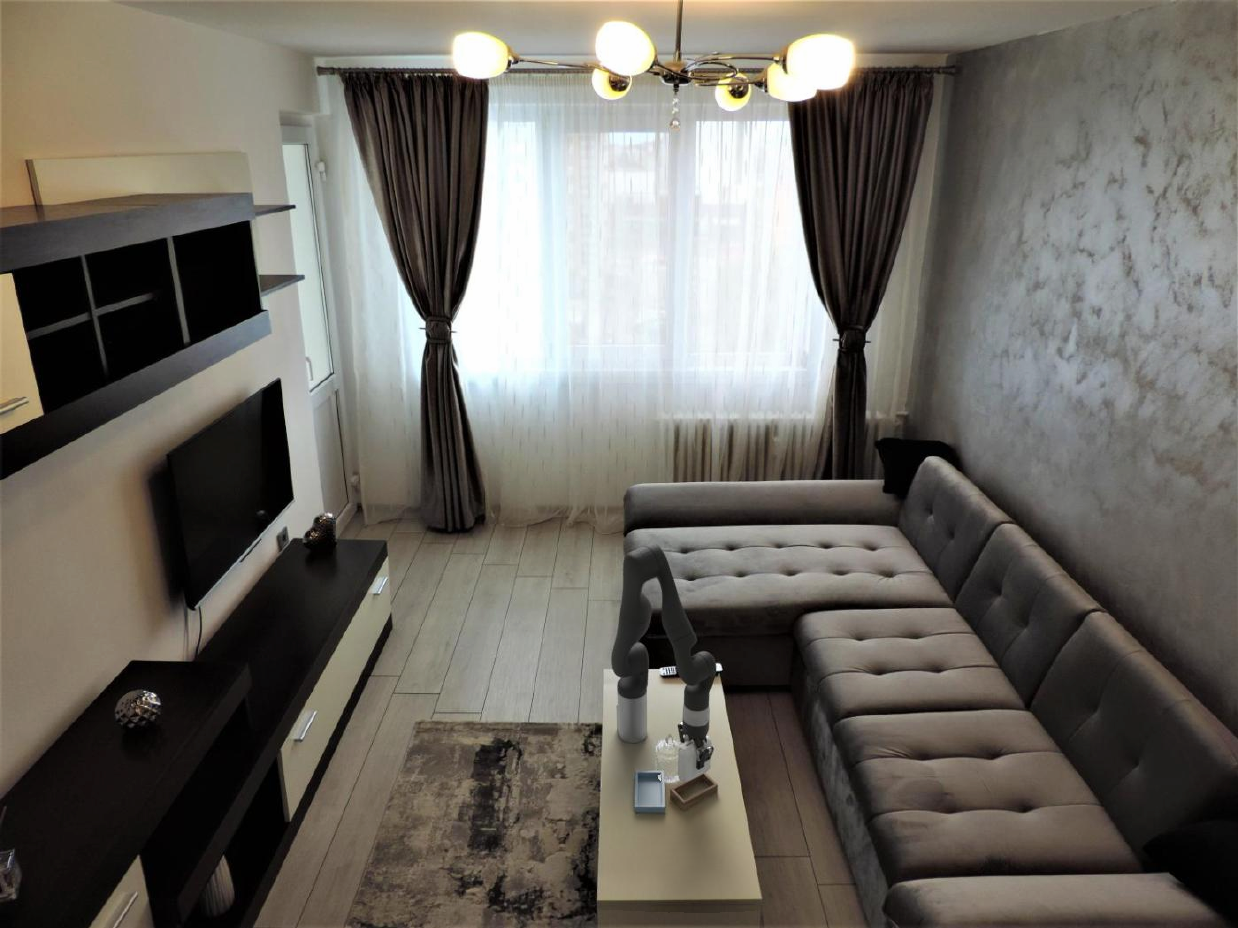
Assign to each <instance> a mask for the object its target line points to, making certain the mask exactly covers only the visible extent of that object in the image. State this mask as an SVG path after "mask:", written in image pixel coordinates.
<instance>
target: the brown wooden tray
mask: <svg viewBox="0 0 1238 928" xmlns="http://www.w3.org/2000/svg"><path fill="white" fill-rule="evenodd" d="M702 782H703V783H704V784H705V785H706V786H707V788H706V789H703V790H702V791H700V792H698V793H696V794H694V795H692V796H690V797H688V798H687V799H685V800H684V798H683V797H682V796H681V795H680V794H682V793H684V792H686V791H688V790H690V789H692V788H694V787H696V786H697V785H699V784H701V783H702ZM718 788H719V785H718V783H716V781H715V780H713V779H712V777H710V776H709V774H707V772H706V773H704V774H702V775H700V776H698V777H696V778H694V779H692V780H690V781H688V782H683V781H681V782H680V783H678V784H677V785H675V786H673V787H671V788H670V789H669V797H670V798H671V799H672V800H673V802H675V804H676V805H677V806H678V807H680V809H681V810H682V811H683V812H685V811H686V810H689V809H690V808H692V807H694V806H696V805H698V804H700V803H701V802H704V801H705V800H707V799H708V798H711V797H712V796H714V795H716V794H718V791H719V789H718Z"/></svg>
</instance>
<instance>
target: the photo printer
mask: <svg viewBox="0 0 1238 928" xmlns="http://www.w3.org/2000/svg"><path fill="white" fill-rule="evenodd" d="M706 738H707V744H708V745H709V747H711V746H713V745H712V739H711V738H710V736H708V734H707V735H706ZM702 747H703V746H702ZM702 747H701V748H702ZM701 748H698V750H699V749H701ZM677 755H678V756H677V760H678V762H677V775H678V779H679V780H680V781H681V782H688V781H690V780H692V779H694V778H696V777H698V776H700V775H702V774H704V773H706V774H707V772H709V771H710V770H711V767H712V766H711V765H712V763H711V762H712V761H711V759H712V757H711V758H710V760H708V761H706V762H704V767H703V768H701V769H699V770H698V769H697V768H696V759H697V757H696V753H695V750H694V747H693V744H692V741H691V740H689V741H687V742H685V743H682V744H681V745H680V747H679V748H678V753H677ZM700 755H702V752H701V753H700Z"/></svg>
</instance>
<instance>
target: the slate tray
mask: <svg viewBox="0 0 1238 928" xmlns="http://www.w3.org/2000/svg"><path fill="white" fill-rule="evenodd" d="M660 774H661V781H660V780H659V779H658V775H660ZM665 791H666V790H665V771H664V770H635V771H634V814H664V815H665V814H666V793H665Z"/></svg>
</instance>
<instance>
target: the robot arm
mask: <svg viewBox="0 0 1238 928" xmlns="http://www.w3.org/2000/svg"><path fill="white" fill-rule="evenodd" d="M653 579H657V580H658V583H659V586H660V590H661V623H662V627H663V629H664V632H665V634H666V635H667V638H668V641H669V642H670V644H671V646H672V648H673V650H672V651H673V654H674V659H675V664H676V669H677V673H678V675H679V678H680V679H681V681H682V682H683V683H684V684H686V685H685V686H684V689H683V692H684V693H683V704H682V705H683V706H682V718H681V720H682V722H680V723H678V724H677V729H678V730H677V731H678V736H679V741H680V743H681V744H684V743H685V742H687V741H689V740H691V741H692V744H693V747H694V750H695V753H696V757H697V759H696V768H697V769H698V770H699V769H701V768H703V767H704V762H706V761H708V760H710V758H711V759H712V755H713V753H714V750H715V748H714V747H713V745H712V746H711V747H709V745H708V744H707V738H706V735H707V736H708V733H709V731H710V717H711V716H710V714H711V713H710V712H711V709H710V694H711V693H710V692H711V689H712V688H713V684H714V681H715V679H716V675H717V662H716V660H715V657H714V656H713V654H711V653H710V652H708V651H706V650H705V651H704V650H703V651H699V652H697V653H696V654H695V653H694V655H692V654H691V650H692V648H693V647H694V646H695V645H696V643H697V642H698V639H697V635H696V633H695V631H694V628H693V626H692V624H691V622H690V620H689V618H688V616H687V614H686V612H685V609H684V606H683V604H682V602H681V598H680V596H679V595H680V594H679V592H678V589H677V586H676V582H675V579H674V577H673V573H672V569H671V567H670V564H669V561H668V558H667V556H666V555H665V552H664V550H663V549H662V548H661V547H660V546H659V544H656V543H655V542H651V543H648V544H645V545H643V546H640V547H638V548H636V549H633V550H632V551H630V552H628V553H627V554H626V555H625V556H624V560H623V564H622V593H621V602H620V608H619V615H618V623H617V625H618V626H617V632H616V636H615V640H614V643H613V648H612V651H611V656H610V657H611V658H610V659H611V667H612V669H611V670H612V671H613V673H614V674H615V676H616V677H618V678H619V679H618V681H617V684H616V685H617V686H616V689H617V690H616V691H617V693H616V694H617V705H616V729H617V733H618V737H619V739H621V740H622V741H624V742H626V743H628V744H637V743H640V742H642V741H644V740H645V739H646V738H647V736H648V686H649V670H650V659H649V657H650V656H649V652H648V650H647V649H648V648H647V647H646V646H645V644H643V643H641V642H640V641H639V640H640V639H641V638H642V637H644V635H645V634H646V633H647V631H648V629H649V628H650V625H651V620H652V619H651V617H652V613H653V611H652V610H653V606H652V603H651V602H650V600H649V599H648V597H647V596H646V595H645V594H644V593H643V591H642V590H643V587H644V584H646V583H647V582H649V581H651V580H653ZM638 641H639V642H638ZM691 655H692V656H691ZM702 746H703V747H702ZM701 747H702V748H701ZM698 748H701V749H699V750H698ZM701 752H702V755H700V753H701Z"/></svg>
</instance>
